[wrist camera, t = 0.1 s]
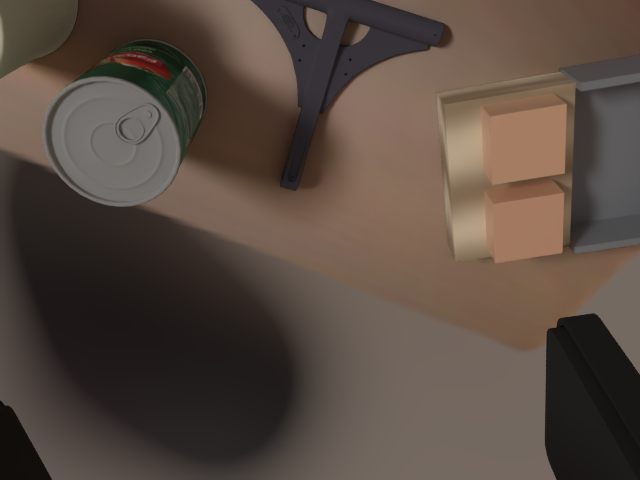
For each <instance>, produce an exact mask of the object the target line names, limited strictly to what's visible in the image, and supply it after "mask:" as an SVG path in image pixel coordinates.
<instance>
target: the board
mask: <svg viewBox="0 0 640 480" xmlns="http://www.w3.org/2000/svg"><path fill="white" fill-rule="evenodd" d="M575 86H576V82H574V81H573V80H571V79H570V78H568V77H567V76H565V75H564V74H562V73H561V72H556V73H550V74H544V75H538V76H532V77H527V78H521V79H515V80H509V81H503V82H497V83H491V84H486V85H480V86H474V87H468V88H462V89H456V90H450V91H444V92H439V93H437V106H438V119H439V132H440V145H441V158H442V171H443V184H444V197H445V210H446V223H447V237H448V245H449V247H450V250H451V252H452V255H453V257H454V260H455V262H460V261H467V260H474V259H480V258H487V257H492V256H491V254H490V252H489V250H488V248H487V244H486V220H485V196H484V190H485V189H491V188H497V187H503V186H510V185H516V184H522V183H529V182H535V181H541V180H548V179H552V180H553V181H554V182H555V183H556V184H557V185H558V186H559V188H560V189H561V190H562V191H563V192H564V217H563V246H566V245H570V225H571V198H572V170H573V142H574V114H575ZM552 93H554V94H555V95H556V96H557V97H559V98H560V99H561V100H563V101H564V102H565V103H566V104H567V114H566V149H565V174H558V175H552V176H546V177H540V178H533V179H527V180H521V181H514V182H508V183H502V184H496V185H492V183H491V182H490V180H489V179H488V177H487V176H486V174H485V173H484V171H483V147H482V122H481V105H487V104H493V103H499V102H505V101H511V100H517V99H523V98H529V97H535V96H541V95H547V94H552Z"/></svg>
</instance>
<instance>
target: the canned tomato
mask: <svg viewBox="0 0 640 480" xmlns="http://www.w3.org/2000/svg"><path fill="white" fill-rule="evenodd" d="M206 108H207V90H206V85H205V82H204V79H203V76H202V74H201V72H200V71H199V69H198V67H197V66H196V64H195V63H194V62H193V61H192V60H191V58H190V57H189V56H187V55H186V54H185V53H184V52H183V51H182V50H180V49H178V48H177V47H175V46H173V45H171V44H169V43H166V42H163V41H160V40H154V39H137V40H133V41H129V42H127V43H125V44H123V45H121V46H119V47H117V48H116V49H115V50H114V51H113V52H111V53H110V54H109V55H108V56H107V57H105V58H104V59H103V60H101V61H100V62H99V63H97V64H96V65H95V66H93V67H92V68H91V69H89V70H88V71H87V72H85V73H84V74H83V75H81V76H80V77H79V78H78V79H76V80H75V81H74V82H73V83H71V84H70V85H68V86H66V87H65V88H64V89H62V90H61V91H60V92H59V93H58V94H57V95H56V96H55V97H54V99H53V100H52V101H51V103H50V104H49V106H48V109H47V111H46V113H45V116H44V121H43V127H42V133H43V143H44V147H45V151H46V154H47V156H48V158H49V161H50V163H51V165H52V167H53V168H54V169H55V171H56V172H57V174H58V175H59V176H60V178H62V179H63V180H64V181H65V182H66V183H67V184H68V185H69V186H70V187H71V188H72V189H74V190H75V191H77V192H78V193H79V194H81V195H83V196H85V197H87V198H89V199H91V200H93V201H96V202H99V203H102V204H105V205H111V206H118V207H121V206H134V205H139V204H143V203H146V202H148V201H150V200H152V199H154V198H156V197H157V196H159V195H160V194H161V193H163V192H164V191H165V190H166V189H167V188H168V187H169V185H170V184H171V183H172V182H173V180H174V178H175V176H176V174H177V173H178V169H179V166H180V165H181V163H182V160H183V159H184V157H185V154H186V153H187V150H188V148H189V146H190V144H191V142H192V140H193V138H194V136H195V134H196V132H197V130H198V127H199V125H200V124H201V122H202V120H203V118H204V115H205V112H206Z"/></svg>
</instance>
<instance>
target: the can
mask: <svg viewBox="0 0 640 480" xmlns="http://www.w3.org/2000/svg"><path fill="white" fill-rule="evenodd" d="M77 12H78V0H0V79H1V78H2V77H4V76H5V75H7V74H9V73H10V72H12V71H14V70H16V69H18V68H19V67H21V66H23V65H25V64H26V63H28V62H30V61H32V60H34V59H36V58H40V57H43V56H46V55H48V54H50V53H52V52H53V51H55V50H56V49H58V48H59V47H60V46H61V45H62V44H63V43H64V42H65V41H66V39H67V38H68V37H69V35H70V33H71V31H72V30H73V27H74V25H75V21H76V17H77Z"/></svg>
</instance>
